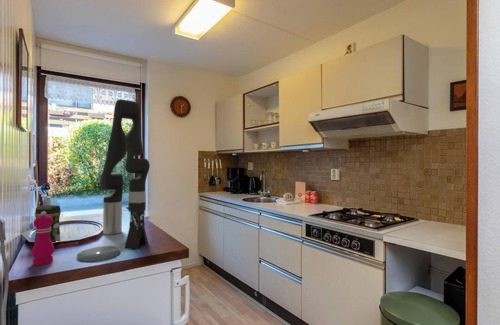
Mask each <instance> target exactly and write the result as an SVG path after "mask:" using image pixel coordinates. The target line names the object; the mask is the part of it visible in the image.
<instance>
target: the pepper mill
mask: <svg viewBox="0 0 500 325" xmlns="http://www.w3.org/2000/svg"><path fill="white" fill-rule="evenodd" d="M41 215H42V216H38V217H37V218H36V217H35V218H34V220H33V227H35V229H34V230H35V234H36V233H37V238H36V242H35V241H34V244H33V247H32V249H31V253H30V254H31V256H32V257H33V259H32V265H33V266H43V265H48V264H51V263H52V262H53V261H54V256H53V254H54V253H55V245H53V243H52V241H51V239H50V231H51V227H50V226H51V225H52V223H53V219H52V217H50V216H48V215H46V212H45V211H43V212H41Z"/></svg>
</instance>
